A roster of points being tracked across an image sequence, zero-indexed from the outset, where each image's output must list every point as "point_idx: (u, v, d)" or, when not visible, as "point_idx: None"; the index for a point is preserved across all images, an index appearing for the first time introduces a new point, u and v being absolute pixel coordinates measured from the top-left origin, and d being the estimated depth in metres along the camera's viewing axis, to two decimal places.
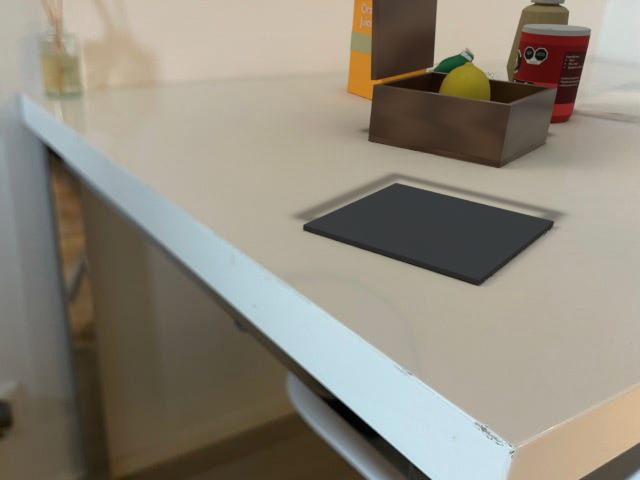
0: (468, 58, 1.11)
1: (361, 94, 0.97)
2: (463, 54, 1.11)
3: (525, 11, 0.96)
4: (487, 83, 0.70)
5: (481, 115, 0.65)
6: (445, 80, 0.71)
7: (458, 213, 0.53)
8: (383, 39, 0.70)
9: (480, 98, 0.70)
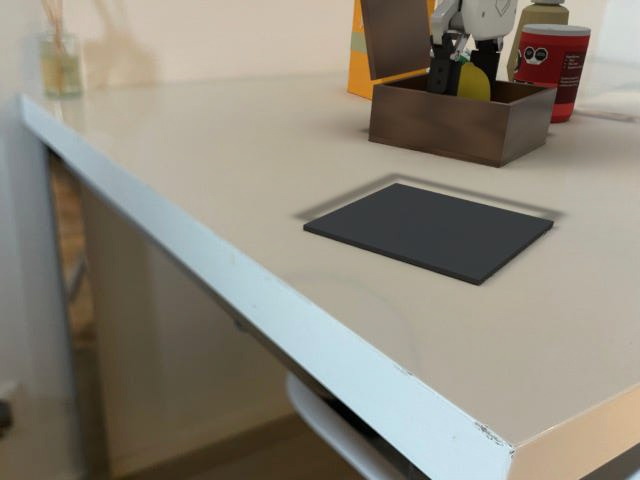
0: (468, 58, 1.11)
1: (361, 94, 0.97)
2: (463, 54, 1.11)
3: (525, 11, 0.96)
4: (487, 83, 0.70)
5: (481, 115, 0.65)
6: None
7: (458, 213, 0.53)
8: (377, 39, 0.71)
9: (480, 98, 0.70)
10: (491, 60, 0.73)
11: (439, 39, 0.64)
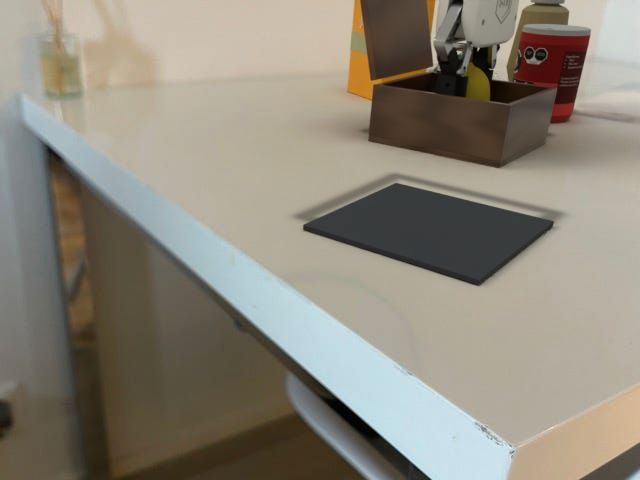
0: None
1: (361, 94, 0.97)
2: None
3: (525, 11, 0.96)
4: (487, 83, 0.70)
5: (481, 115, 0.65)
6: None
7: (458, 213, 0.53)
8: (377, 39, 0.71)
9: (480, 98, 0.70)
10: None
11: (446, 56, 0.66)
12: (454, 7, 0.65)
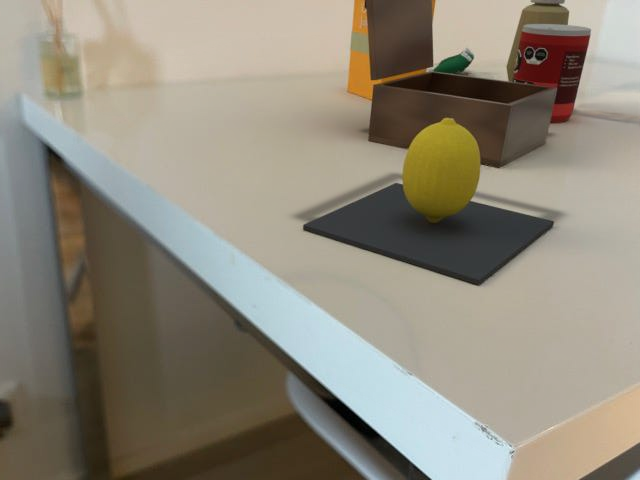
0: (468, 58, 1.11)
1: (361, 94, 0.97)
2: (463, 54, 1.11)
3: (525, 11, 0.96)
4: (475, 150, 0.47)
5: (481, 115, 0.65)
6: (413, 144, 0.48)
7: (458, 213, 0.53)
8: (380, 39, 0.71)
9: (465, 173, 0.46)
10: None
11: None
12: None
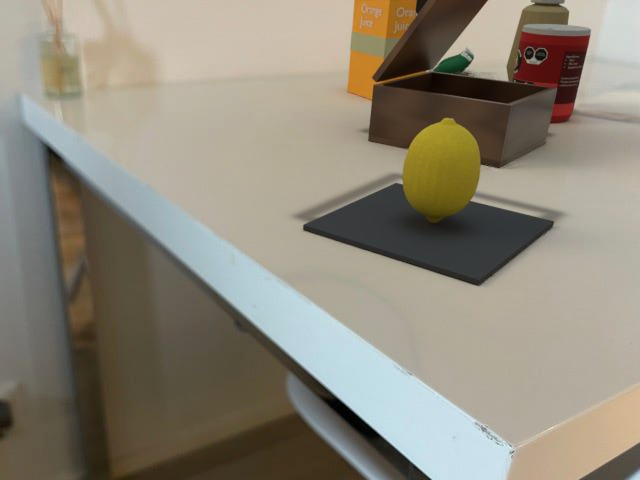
0: (468, 58, 1.11)
1: (361, 94, 0.97)
2: (463, 54, 1.11)
3: (525, 11, 0.96)
4: (475, 150, 0.47)
5: (481, 115, 0.65)
6: (413, 144, 0.48)
7: (458, 213, 0.53)
8: (404, 51, 0.69)
9: (465, 173, 0.46)
10: None
11: None
12: None
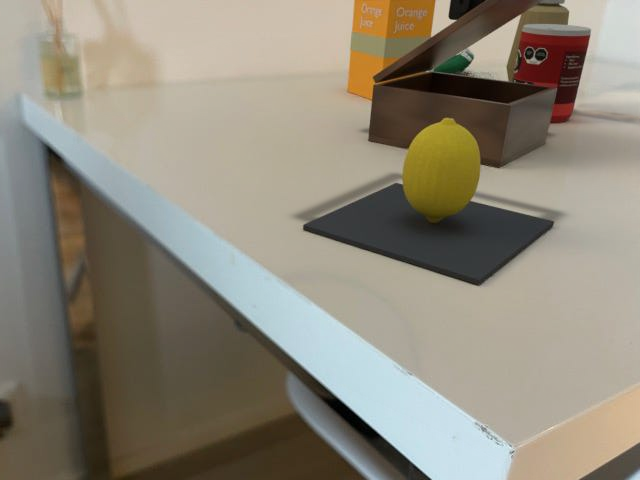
0: (468, 58, 1.11)
1: (361, 94, 0.97)
2: (463, 54, 1.11)
3: (525, 11, 0.96)
4: (475, 150, 0.47)
5: (481, 115, 0.65)
6: (413, 144, 0.48)
7: (458, 213, 0.53)
8: (410, 62, 0.69)
9: (465, 173, 0.46)
10: None
11: None
12: None
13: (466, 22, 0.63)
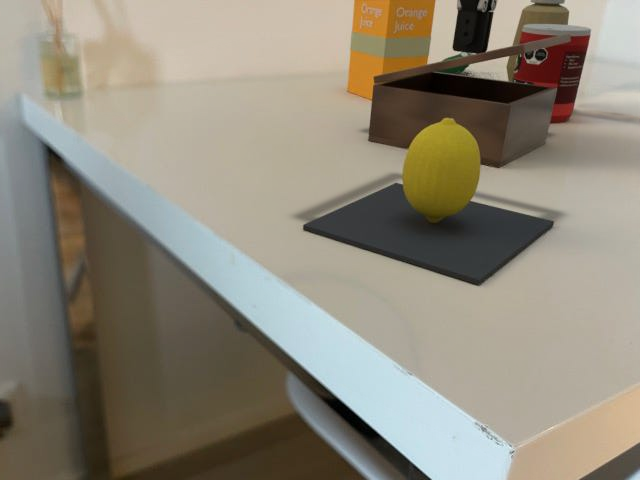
0: None
1: (361, 94, 0.97)
2: (463, 54, 1.11)
3: (525, 11, 0.96)
4: (475, 150, 0.47)
5: (481, 115, 0.65)
6: (413, 144, 0.48)
7: (458, 213, 0.53)
8: None
9: (465, 173, 0.46)
10: None
11: None
12: None
13: (476, 62, 0.64)
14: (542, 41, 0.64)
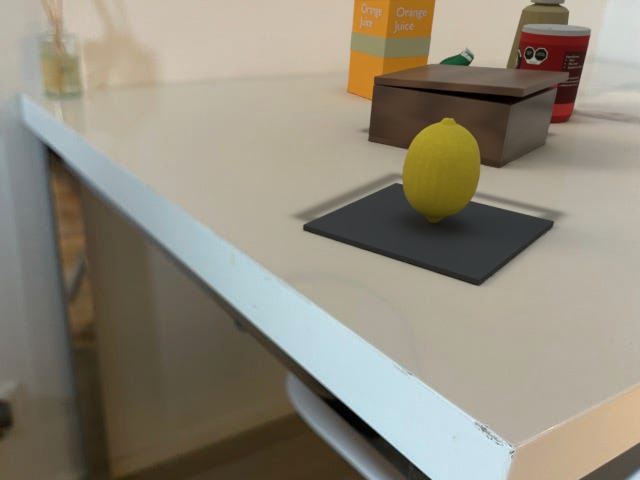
0: (468, 58, 1.11)
1: (361, 94, 0.97)
2: (463, 54, 1.11)
3: (525, 11, 0.96)
4: (475, 150, 0.47)
5: (481, 115, 0.65)
6: (413, 144, 0.48)
7: (458, 213, 0.53)
8: None
9: (465, 173, 0.46)
10: None
11: None
12: None
13: (475, 92, 0.65)
14: (541, 83, 0.65)
